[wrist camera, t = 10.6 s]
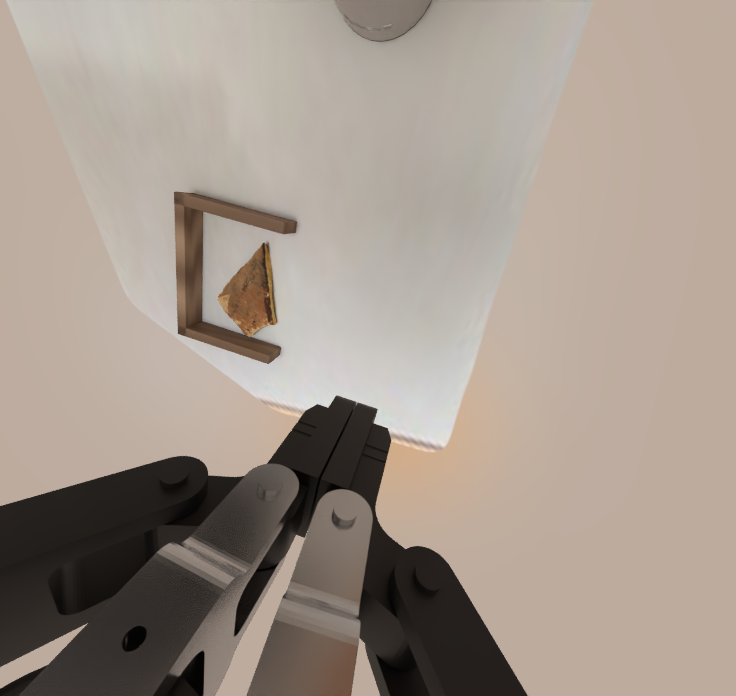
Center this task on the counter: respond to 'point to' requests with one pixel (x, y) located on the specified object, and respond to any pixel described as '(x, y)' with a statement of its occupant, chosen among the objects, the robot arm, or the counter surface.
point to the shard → (251, 294)
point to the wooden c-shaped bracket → (190, 271)
